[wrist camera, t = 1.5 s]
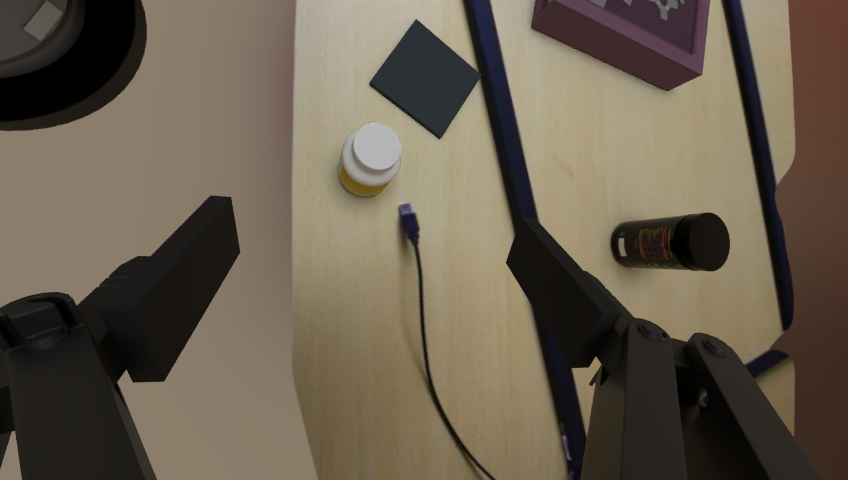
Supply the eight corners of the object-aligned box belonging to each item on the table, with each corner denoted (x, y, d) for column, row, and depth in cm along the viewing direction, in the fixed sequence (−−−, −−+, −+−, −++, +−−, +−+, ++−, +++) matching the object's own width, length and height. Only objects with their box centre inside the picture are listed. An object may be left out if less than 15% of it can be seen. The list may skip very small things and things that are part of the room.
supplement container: (649, 261, 48) (735, 262, 38) (615, 273, 46) (696, 278, 36) (639, 216, 48) (722, 206, 38) (604, 227, 46) (683, 219, 36)
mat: (369, 84, 37) (369, 81, 36) (414, 22, 39) (416, 18, 38) (439, 139, 39) (441, 137, 38) (479, 77, 41) (481, 75, 40)
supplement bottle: (389, 198, 37) (411, 178, 27) (339, 199, 35) (345, 179, 26) (385, 150, 37) (406, 115, 27) (336, 149, 35) (340, 111, 26)
